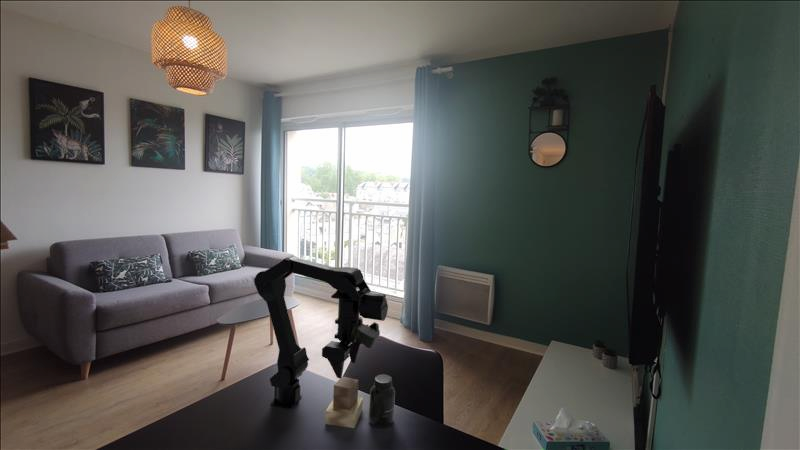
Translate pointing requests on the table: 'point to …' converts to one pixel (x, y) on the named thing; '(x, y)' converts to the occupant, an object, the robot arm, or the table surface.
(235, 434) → the table surface
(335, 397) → the walnut block
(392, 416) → the supplement bottle
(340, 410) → the oak block
